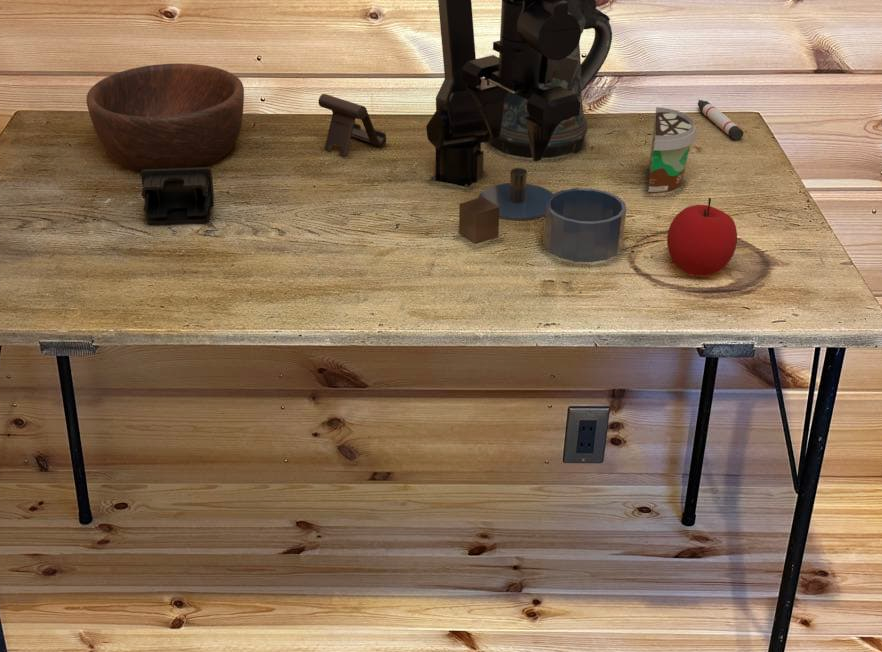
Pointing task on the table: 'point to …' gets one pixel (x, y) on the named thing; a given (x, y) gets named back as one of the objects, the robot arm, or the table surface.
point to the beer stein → (575, 128)
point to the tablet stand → (349, 124)
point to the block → (479, 220)
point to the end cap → (177, 195)
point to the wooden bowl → (167, 115)
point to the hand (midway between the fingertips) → (516, 148)
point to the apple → (701, 240)
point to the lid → (518, 197)
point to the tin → (584, 225)
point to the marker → (720, 120)
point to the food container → (669, 149)
